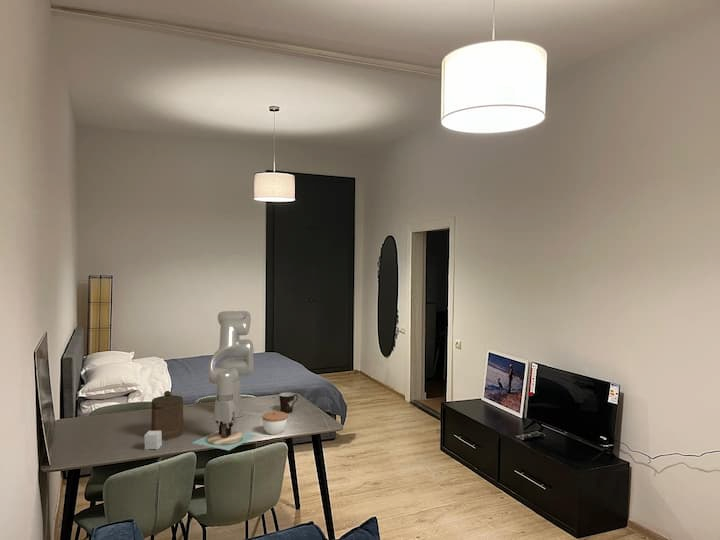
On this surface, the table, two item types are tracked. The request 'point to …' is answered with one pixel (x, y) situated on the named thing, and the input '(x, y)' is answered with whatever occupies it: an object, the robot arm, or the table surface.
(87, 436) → the table surface
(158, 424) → the wooden container
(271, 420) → the lidded bowl
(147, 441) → the skincare box
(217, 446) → the rubber mat
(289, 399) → the coffee mug
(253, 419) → the table surface
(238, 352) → the robot arm
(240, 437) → the maple lid
